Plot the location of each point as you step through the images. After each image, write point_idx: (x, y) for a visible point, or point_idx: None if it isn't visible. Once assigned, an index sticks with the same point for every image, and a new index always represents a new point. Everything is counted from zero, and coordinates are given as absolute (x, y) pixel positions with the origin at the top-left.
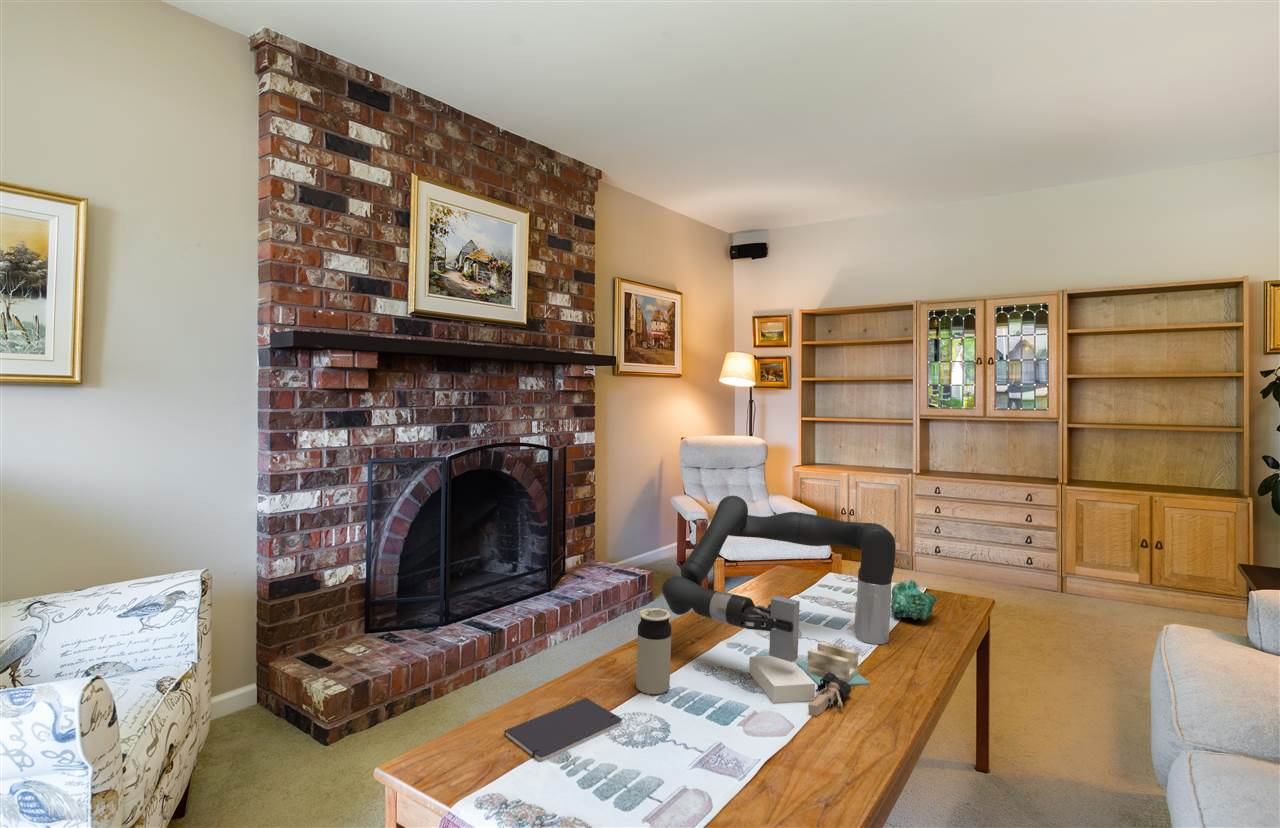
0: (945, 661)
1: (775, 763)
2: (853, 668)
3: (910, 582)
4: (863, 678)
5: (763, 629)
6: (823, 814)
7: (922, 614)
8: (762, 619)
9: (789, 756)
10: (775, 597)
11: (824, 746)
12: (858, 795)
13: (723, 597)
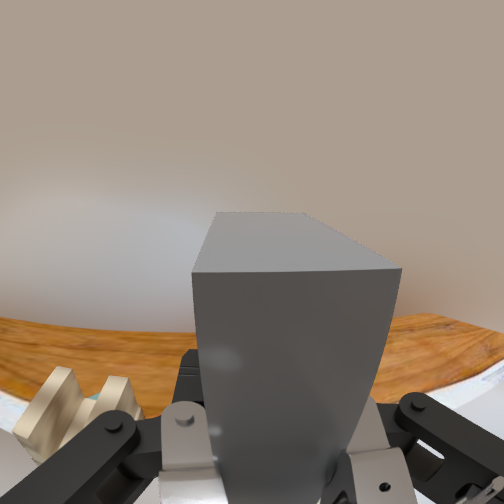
0: (14, 323)
1: (468, 369)
2: (82, 399)
3: None
4: (98, 395)
5: (426, 454)
6: (455, 321)
7: None
8: (454, 429)
9: (446, 372)
10: (292, 262)
11: (388, 368)
12: (413, 321)
13: None
